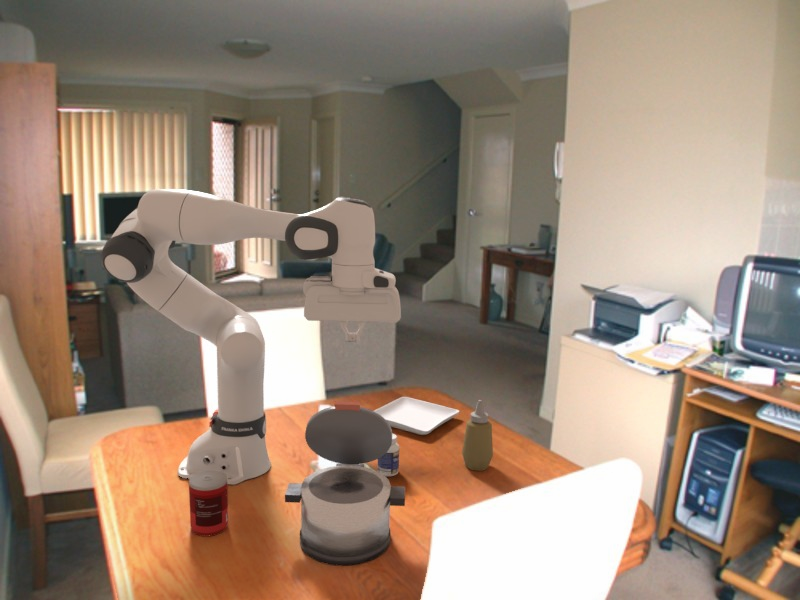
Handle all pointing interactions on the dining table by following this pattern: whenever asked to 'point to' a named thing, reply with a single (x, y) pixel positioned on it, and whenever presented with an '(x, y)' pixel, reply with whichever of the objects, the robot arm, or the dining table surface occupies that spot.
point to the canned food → (208, 502)
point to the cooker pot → (345, 513)
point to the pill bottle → (390, 460)
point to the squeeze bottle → (478, 440)
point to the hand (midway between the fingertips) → (352, 341)
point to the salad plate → (415, 415)
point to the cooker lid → (348, 434)
